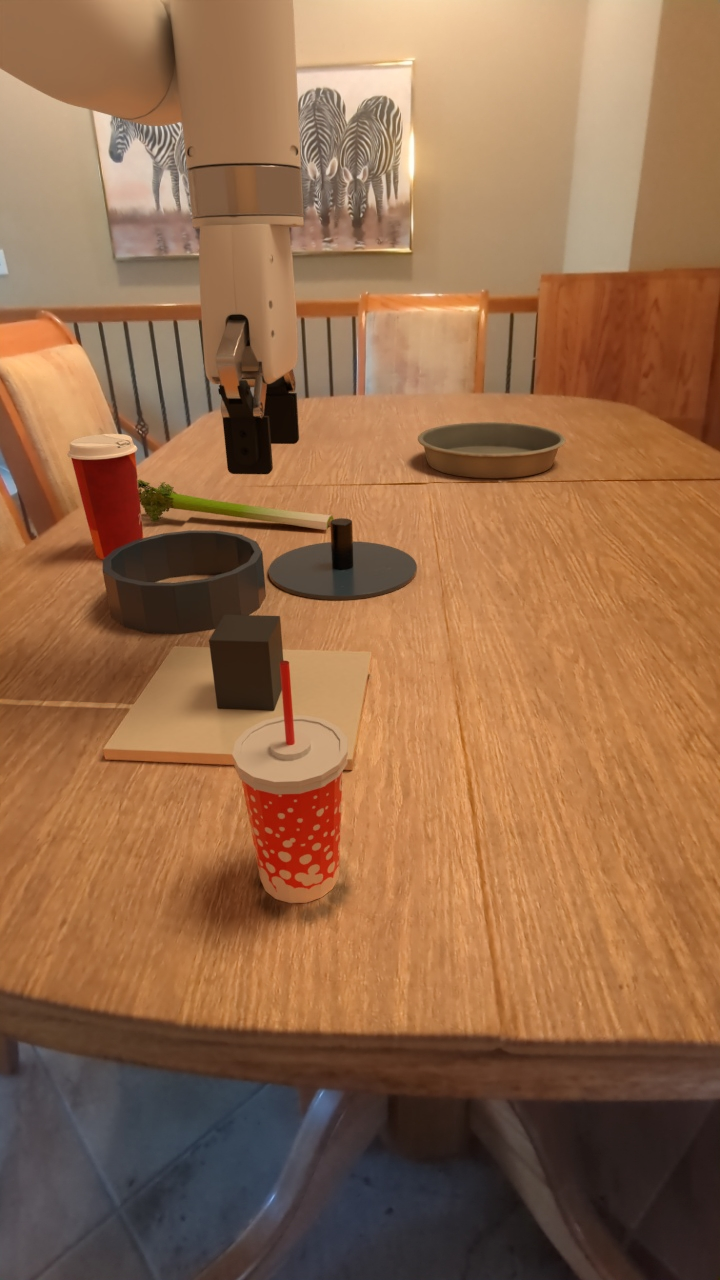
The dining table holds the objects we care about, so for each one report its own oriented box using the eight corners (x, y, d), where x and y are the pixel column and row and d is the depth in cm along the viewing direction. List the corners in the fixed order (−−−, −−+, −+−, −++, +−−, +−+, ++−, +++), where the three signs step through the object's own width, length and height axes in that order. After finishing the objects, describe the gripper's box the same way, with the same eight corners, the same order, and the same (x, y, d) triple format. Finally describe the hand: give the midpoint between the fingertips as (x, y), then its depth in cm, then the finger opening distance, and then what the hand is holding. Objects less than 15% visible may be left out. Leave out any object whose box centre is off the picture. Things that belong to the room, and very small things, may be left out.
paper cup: (166, 549, 94) (149, 435, 87) (124, 570, 88) (103, 449, 81) (116, 541, 97) (97, 430, 90) (73, 561, 91) (49, 444, 84)
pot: (86, 636, 72) (75, 583, 70) (143, 575, 86) (136, 529, 84) (245, 641, 71) (240, 587, 68) (278, 578, 85) (274, 531, 82)
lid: (254, 603, 78) (249, 546, 76) (284, 548, 93) (280, 498, 90) (414, 607, 77) (414, 549, 74) (419, 550, 92) (419, 500, 89)
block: (217, 709, 58) (208, 640, 56) (231, 680, 62) (224, 614, 60) (274, 711, 58) (268, 641, 55) (285, 681, 62) (280, 615, 59)
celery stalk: (321, 555, 96) (110, 521, 102) (337, 543, 102) (138, 512, 108) (325, 507, 94) (109, 475, 100) (341, 498, 100) (137, 469, 106)
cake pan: (387, 463, 130) (387, 436, 128) (480, 440, 145) (482, 416, 143) (499, 490, 114) (501, 461, 112) (592, 462, 128) (595, 435, 126)
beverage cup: (341, 920, 41) (331, 699, 34) (233, 906, 42) (204, 689, 35) (360, 842, 46) (355, 639, 40) (264, 832, 47) (244, 632, 41)
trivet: (104, 760, 54) (102, 748, 54) (174, 655, 69) (173, 645, 68) (352, 770, 53) (352, 759, 52) (372, 661, 67) (372, 651, 66)
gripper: (228, 211, 59) (247, 433, 67) (146, 196, 44) (183, 486, 51) (323, 208, 58) (331, 434, 66) (272, 192, 43) (291, 488, 51)
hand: (266, 456), depth 59 cm, fingers open, 9 cm apart
